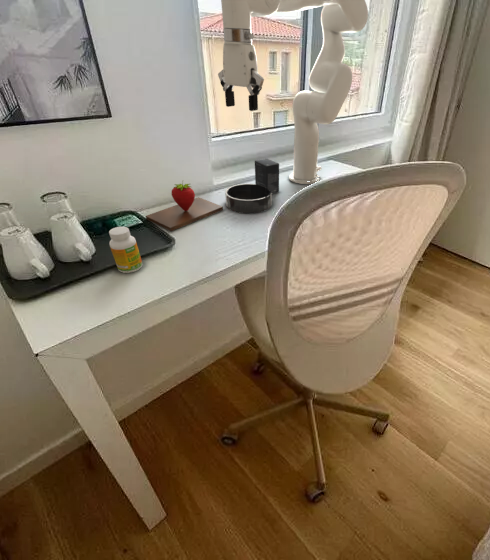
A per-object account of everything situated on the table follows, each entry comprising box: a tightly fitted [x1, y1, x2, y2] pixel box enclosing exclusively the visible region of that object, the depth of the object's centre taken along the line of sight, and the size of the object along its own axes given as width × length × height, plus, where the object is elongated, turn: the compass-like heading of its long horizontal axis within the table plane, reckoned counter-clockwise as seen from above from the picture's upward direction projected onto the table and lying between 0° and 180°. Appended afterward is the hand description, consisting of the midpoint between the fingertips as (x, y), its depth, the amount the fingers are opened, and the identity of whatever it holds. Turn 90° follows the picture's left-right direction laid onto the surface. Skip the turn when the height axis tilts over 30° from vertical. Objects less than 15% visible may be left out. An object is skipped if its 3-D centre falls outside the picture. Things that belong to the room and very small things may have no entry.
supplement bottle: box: [108, 226, 143, 274], centre depth 73 cm, size 5×5×10 cm
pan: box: [224, 183, 273, 215], centre depth 108 cm, size 15×15×4 cm
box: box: [254, 158, 280, 195], centre depth 117 cm, size 8×6×11 cm
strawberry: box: [171, 181, 196, 211], centre depth 97 cm, size 6×8×10 cm
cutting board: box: [145, 196, 224, 232], centre depth 100 cm, size 20×12×1 cm, turn 144°
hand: (241, 108), depth 97 cm, fingers open, 9 cm apart
